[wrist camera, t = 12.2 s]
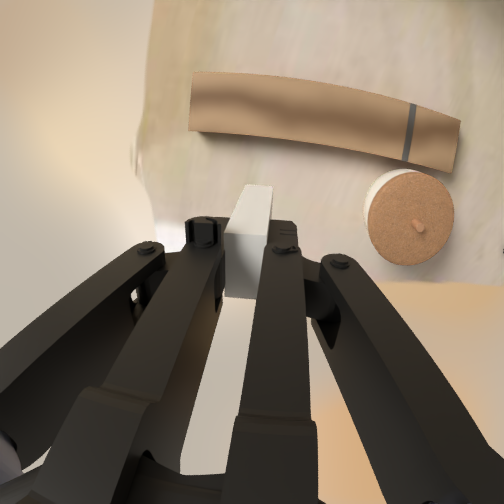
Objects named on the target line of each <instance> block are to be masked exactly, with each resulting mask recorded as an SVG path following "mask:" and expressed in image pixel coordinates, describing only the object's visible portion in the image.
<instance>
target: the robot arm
mask: <svg viewBox="0 0 504 504" xmlns="http://www.w3.org/2000/svg"><path fill="white" fill-rule="evenodd" d="M272 200H273V186H266V185H249V184H246V185H245V187H244V189H243V191H242V193H241V196H240V198H239V200H238V202H237V204H236V207H235V209H234V211H233V213H232V215H231V218H225V217H208V216H200V217H194V218H191V219H188V220H187V221H186V222H185V232H186V244H185V246H184V247H183V249H182V250H181V251H180V252H172V253H165V250H164V246H163V245H162V244H161V243H158V242H152V241H148V242H147V241H145V242H142V243H139V244H137V245H135V246H133V247H131V248H130V249H129V250H127V251H126V252H124V253H123V254H121V255H120V256H118V257H117V258H116V259H114V260H113V261H111V262H110V263H109V264H108V265H106V266H104V267H103V268H102V269H100V270H99V271H98V272H96V273H95V274H93V275H92V276H91V277H89V278H88V279H87V280H85V281H84V282H83V283H81V284H80V285H79V286H77V287H76V288H75V289H73V290H72V291H71V292H69V293H68V294H67V295H65V296H64V297H63V298H62V299H60V300H59V301H58V302H56V303H55V304H54V305H53V306H51V307H50V308H49V309H47V310H46V311H45V312H44V313H42V314H41V315H40V316H39V317H37V318H36V319H35V320H34V321H33V322H31V323H30V324H29V325H28V326H26V327H25V328H24V329H23V330H22V331H20V332H19V333H18V334H17V335H16V336H14V337H13V338H12V339H11V340H10V341H9V342H7V343H6V344H5V345H4V346H3V347H2V348H1V349H0V504H326V503H324V502H323V501H321V500H319V499H318V441H317V440H318V439H317V426H316V423H315V421H312V420H311V410H310V382H309V381H310V379H309V358H308V338H307V322H306V321H307V320H306V317H310V318H311V325H312V327H313V329H314V331H315V333H316V336H317V338H318V340H319V342H320V345H321V347H322V349H323V352H324V354H325V356H326V359H327V361H328V363H329V366H330V368H331V370H332V372H333V375H334V377H335V379H336V382H337V384H338V386H339V389H340V391H341V394H342V396H343V398H344V401H345V403H346V405H347V408H348V410H349V413H350V415H351V417H352V420H353V422H354V425H355V427H356V429H357V432H358V434H359V437H360V439H361V442H362V444H363V446H364V449H365V451H366V453H367V456H368V458H369V461H370V464H371V466H372V469H373V471H374V474H375V476H376V479H377V481H378V484H379V486H380V489H381V491H382V494H383V496H384V498H385V500H386V503H387V504H504V459H503V458H502V457H501V456H500V455H499V454H498V453H497V452H496V451H494V450H493V449H492V448H491V447H490V446H489V445H488V443H487V442H486V440H485V438H484V437H483V435H482V433H481V432H480V430H479V429H478V427H477V425H476V423H475V422H474V420H473V419H472V417H471V416H470V414H469V412H468V411H467V409H466V408H465V406H464V405H463V403H462V402H461V400H460V398H459V397H458V395H457V394H456V392H455V391H454V390H453V388H452V387H451V385H450V383H448V381H447V379H446V378H445V376H444V375H443V373H442V372H441V370H440V369H439V368H438V366H437V365H436V363H435V362H434V360H433V359H432V358H431V356H430V355H429V354H428V352H427V351H426V349H425V348H424V347H423V345H422V344H421V342H420V341H419V340H418V338H417V337H416V336H415V334H414V333H413V332H412V330H411V329H410V328H409V326H408V325H407V324H406V322H405V321H404V320H403V318H402V317H401V316H400V315H399V313H398V312H397V311H396V309H395V308H394V307H393V306H392V304H391V303H390V302H389V301H388V299H387V298H386V297H385V295H384V294H383V293H382V292H381V290H380V289H379V288H378V287H377V285H376V284H375V283H374V282H373V280H372V279H371V278H370V277H369V276H368V274H367V273H366V272H365V271H364V270H363V268H362V267H361V266H360V265H359V264H358V262H357V261H355V260H354V259H353V258H351V257H349V256H347V255H344V254H343V255H342V254H328V255H326V256H324V257H323V258H322V259H321V263H318V262H314V261H311V260H308V259H306V258H304V257H303V256H302V254H301V249H300V248H299V247H298V237H297V226H296V225H295V224H294V223H293V222H292V221H284V220H271V217H272ZM135 289H136V293H137V298H136V299H135V300H134V301H132V298H131V293H132V292H133V290H135ZM224 289H225V297H233V298H245V299H256V306H255V312H254V319H253V325H252V332H251V338H250V345H249V351H248V358H247V364H246V370H245V377H244V382H243V389H242V395H241V401H240V407H239V413H238V416H236V418H235V422H234V427H233V432H232V438H231V444H230V449H229V455H228V461H227V466H226V472H225V474H210V475H182V474H180V457H181V452H182V448H183V444H184V440H185V437H186V433H187V429H188V426H189V422H190V418H191V415H192V411H193V407H194V404H195V400H196V397H197V393H198V389H199V386H200V382H201V379H202V375H203V371H204V368H205V364H206V360H207V357H208V354H209V350H210V347H211V343H212V340H213V336H214V332H215V329H216V326H217V322H218V319H219V315H220V312H221V308H222V304H223V302H222V301H223V299H222V293H223V290H224ZM50 447H51V448H50ZM49 448H50V450H49V452H48V454H47V456H46V458H45V461H44V463H43V465H41V466H39V467H37V468H35V469H33V470H31V471H29V472H26V473H23V472H22V470H23V469H25V468H27V467H28V466H30V465H31V464H32V463H34V462H35V461H36V460H37V459H39V458H40V457H41V456H42V455H43V454H44V453H45V452H46V451H47V450H48V449H49Z"/></svg>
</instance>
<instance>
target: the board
mask: <svg viewBox="0 0 504 504" xmlns="http://www.w3.org/2000/svg"><path fill="white" fill-rule="evenodd" d="M460 122H461V120H458V119H456V118H453V117H450V116H447V115H445V114H442V113H439V112H436V111H433V110H430V109H427V108H424V107H421V106H418V105H415V104H412V103H408V102H405V101H401V100H398V99H394V98H390V97H387V96H383V95H379V94H375V93H371V92H366V91H362V90H358V89H353V88H348V87H343V86H338V85H333V84H327V83H322V82H316V81H309V80H302V79H295V78H287V77H279V76H269V75H258V74H245V73H226V72H193V77H192V88H191V100H190V113H189V128H188V131H200V132H217V133H231V134H243V135H253V136H263V137H272V138H280V139H288V140H296V141H303V142H310V143H316V144H322V145H329V146H334V147H340V148H346V149H351V150H356V151H361V152H366V153H371V154H376V155H380V156H385V157H389V158H394V159H398V160H402V161H406V162H410V163H414V164H418V165H422V166H426V167H429V168H433V169H437V170H440V171H444V172H447V173H452V168H453V163H454V158H455V153H456V147H457V141H458V135H459V129H460Z"/></svg>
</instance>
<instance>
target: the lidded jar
mask: <svg viewBox="0 0 504 504" xmlns="http://www.w3.org/2000/svg"><path fill="white" fill-rule="evenodd" d="M363 217H364V223H365V226H366V229H367V232H368V234H369V236H370V239H371V242H372V243H373V245H374V247H375V249H376V250H377V251H378V253H379V254H380V255H381V256H382V257H384V258H385V259H386V260H388V261H390V262H392V263H395V264H398V265H415V264H418V263H422V262H424V261H426V260H428V259H430V258H431V257H433V256H434V255H435V254H436V253H437V252H439V250H440V249H441V248H442V247H443V246H444V244H445V243H446V241H447V239H448V237H449V235H450V233H451V230H452V227H453V222H454V207H453V202H452V199H451V196H450V194H449V192H448V191H447V189H446V188H445V186H444V185H443V184H442V183H441V182H440V181H438V180H437V179H435V178H434V177H432V176H430V175H428V174H424V173H422V172H419V171H416V170H411V169H396V170H392V171H389V172H386V173H384V174H383V175H381V176H380V177H379V178H377V179H376V180H375V181H374V183H373V184H372V185H371V186H370V188H369V190H368V192H367V194H366V196H365V200H364V205H363Z"/></svg>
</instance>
